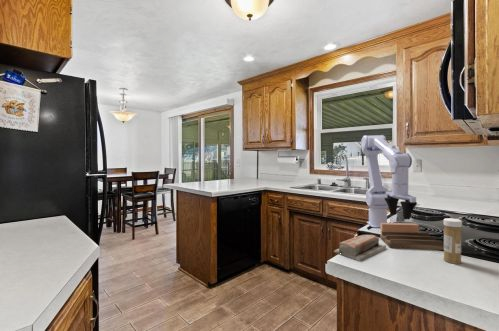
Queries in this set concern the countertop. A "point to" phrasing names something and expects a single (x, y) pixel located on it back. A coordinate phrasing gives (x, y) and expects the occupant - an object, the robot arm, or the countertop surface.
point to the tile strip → (399, 227)
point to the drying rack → (411, 240)
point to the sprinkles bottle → (452, 240)
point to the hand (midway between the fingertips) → (399, 216)
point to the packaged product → (360, 247)
